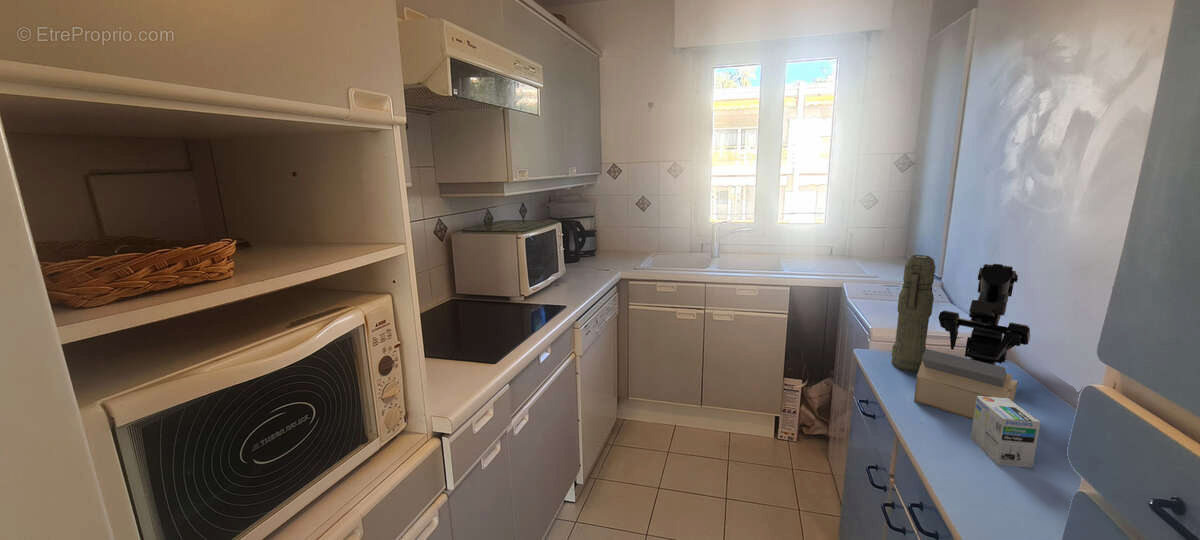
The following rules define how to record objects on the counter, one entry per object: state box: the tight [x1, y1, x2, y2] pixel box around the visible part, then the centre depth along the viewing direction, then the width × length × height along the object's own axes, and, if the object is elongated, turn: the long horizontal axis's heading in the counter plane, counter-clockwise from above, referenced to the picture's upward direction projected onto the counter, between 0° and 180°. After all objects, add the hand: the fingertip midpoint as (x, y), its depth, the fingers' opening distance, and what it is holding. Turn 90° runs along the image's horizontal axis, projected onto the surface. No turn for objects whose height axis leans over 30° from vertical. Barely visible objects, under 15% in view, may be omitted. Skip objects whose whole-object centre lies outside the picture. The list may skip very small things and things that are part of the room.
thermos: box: [891, 254, 936, 373], centre depth 144 cm, size 9×12×35 cm
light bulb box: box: [970, 396, 1042, 469], centre depth 102 cm, size 11×7×11 cm, turn 168°
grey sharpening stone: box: [916, 348, 1013, 398], centre depth 117 cm, size 7×18×6 cm
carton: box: [913, 376, 1019, 421], centre depth 122 cm, size 14×18×8 cm
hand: (973, 353), depth 123 cm, fingers open, 9 cm apart
